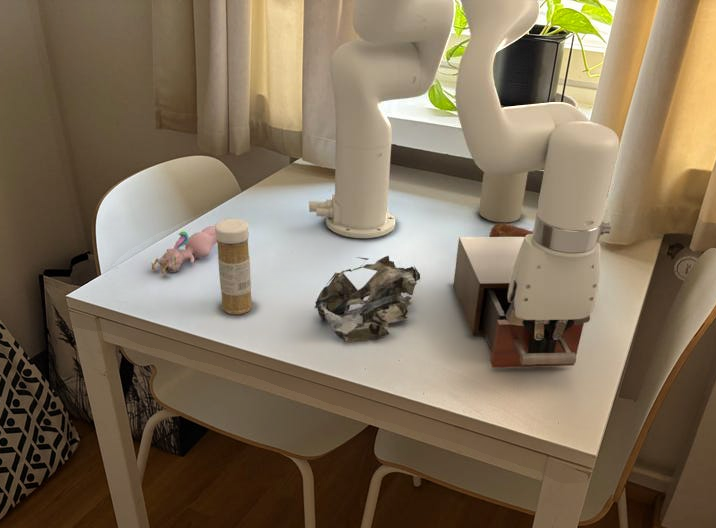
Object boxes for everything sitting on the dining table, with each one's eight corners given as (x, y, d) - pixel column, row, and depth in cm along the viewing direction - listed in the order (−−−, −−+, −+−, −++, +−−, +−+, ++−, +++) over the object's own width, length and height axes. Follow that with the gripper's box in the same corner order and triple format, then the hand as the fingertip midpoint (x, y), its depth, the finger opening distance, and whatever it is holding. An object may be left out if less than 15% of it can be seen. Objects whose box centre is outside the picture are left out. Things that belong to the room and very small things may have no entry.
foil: (307, 279, 114) (394, 231, 111) (345, 332, 119) (429, 288, 116) (303, 317, 104) (399, 265, 101) (345, 373, 110) (437, 326, 106)
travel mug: (528, 215, 146) (544, 122, 136) (504, 227, 141) (519, 131, 131) (494, 203, 150) (507, 111, 140) (470, 214, 145) (482, 119, 135)
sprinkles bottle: (244, 297, 116) (239, 214, 108) (258, 311, 113) (254, 227, 105) (216, 305, 113) (208, 221, 106) (229, 319, 110) (223, 234, 103)
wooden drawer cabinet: (556, 334, 112) (567, 282, 107) (472, 335, 110) (479, 283, 105) (529, 285, 123) (538, 236, 119) (453, 286, 122) (458, 236, 117)
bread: (567, 287, 123) (574, 256, 120) (481, 244, 135) (485, 214, 132) (591, 276, 127) (598, 246, 124) (505, 235, 138) (510, 206, 135)
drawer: (586, 387, 100) (596, 343, 96) (500, 389, 98) (508, 345, 94) (545, 313, 114) (553, 273, 111) (470, 315, 113) (476, 274, 109)
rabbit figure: (174, 288, 119) (242, 243, 128) (164, 256, 115) (235, 212, 124) (148, 275, 122) (216, 232, 131) (138, 244, 118) (209, 201, 127)
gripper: (614, 218, 94) (584, 342, 104) (496, 218, 92) (477, 345, 102) (638, 246, 88) (603, 375, 98) (512, 246, 86) (490, 378, 96)
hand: (539, 359), depth 100 cm, fingers closed
